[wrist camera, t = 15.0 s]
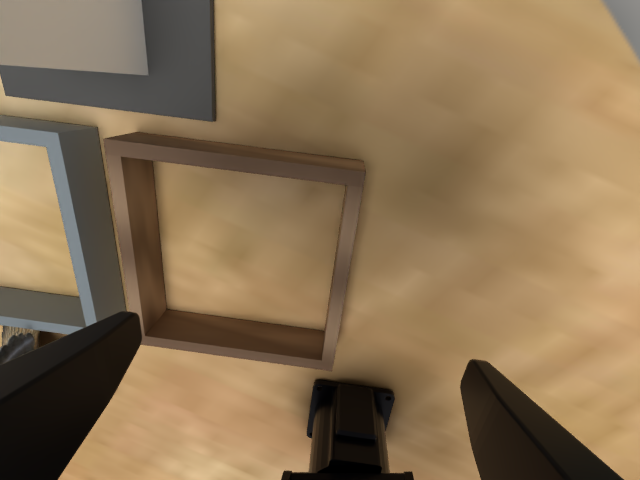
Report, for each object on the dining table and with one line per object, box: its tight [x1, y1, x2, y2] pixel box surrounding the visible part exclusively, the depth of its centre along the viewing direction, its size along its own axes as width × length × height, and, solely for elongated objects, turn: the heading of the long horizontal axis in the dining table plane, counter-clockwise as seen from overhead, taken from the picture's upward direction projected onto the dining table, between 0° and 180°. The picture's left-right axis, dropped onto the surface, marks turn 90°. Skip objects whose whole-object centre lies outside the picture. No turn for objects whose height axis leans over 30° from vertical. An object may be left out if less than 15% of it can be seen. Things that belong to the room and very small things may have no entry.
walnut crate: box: [103, 132, 366, 371], centre depth 21 cm, size 14×14×3 cm
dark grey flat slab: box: [0, 0, 215, 122], centre depth 17 cm, size 9×12×1 cm
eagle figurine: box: [0, 325, 40, 365], centre depth 25 cm, size 8×7×9 cm
